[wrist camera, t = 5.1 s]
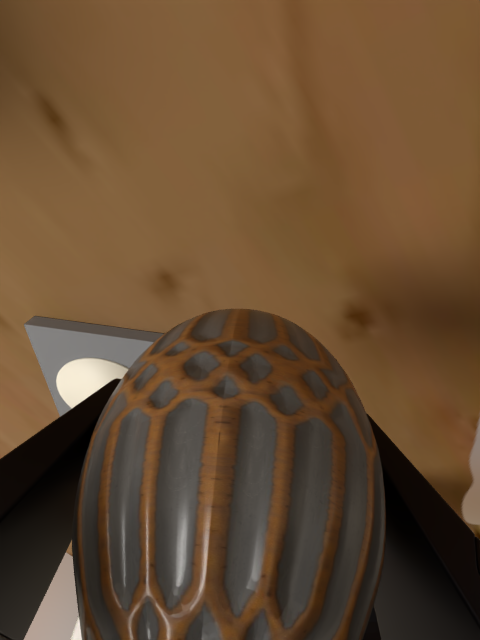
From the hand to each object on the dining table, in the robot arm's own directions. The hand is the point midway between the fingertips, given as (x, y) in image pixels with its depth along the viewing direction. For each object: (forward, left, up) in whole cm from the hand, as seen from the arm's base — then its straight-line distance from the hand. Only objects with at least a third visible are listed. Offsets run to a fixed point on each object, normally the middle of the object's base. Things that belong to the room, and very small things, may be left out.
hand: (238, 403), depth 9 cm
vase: (0, 0, -2) cm, 2 cm away
